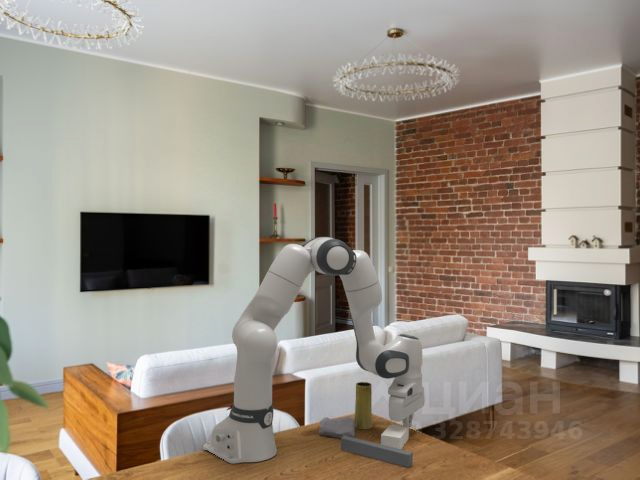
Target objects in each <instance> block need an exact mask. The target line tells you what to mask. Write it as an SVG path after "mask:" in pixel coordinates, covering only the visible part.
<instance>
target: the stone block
mask: <svg viewBox="0 0 640 480" xmlns="http://www.w3.org/2000/svg"><path fill="white" fill-rule="evenodd" d="M355 426H356V421H355V418H352V417H350V416H349V417H347V416H346V417H339V418H336V419H333V418H329V417H324V418H322V419H321V420H320V423H319V435H320V436H325V437H333V438H338V439H339V438H340V439H341V438H342V437H343V436H349V437H353V438H356V437H355V436H356V427H355Z"/></svg>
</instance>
